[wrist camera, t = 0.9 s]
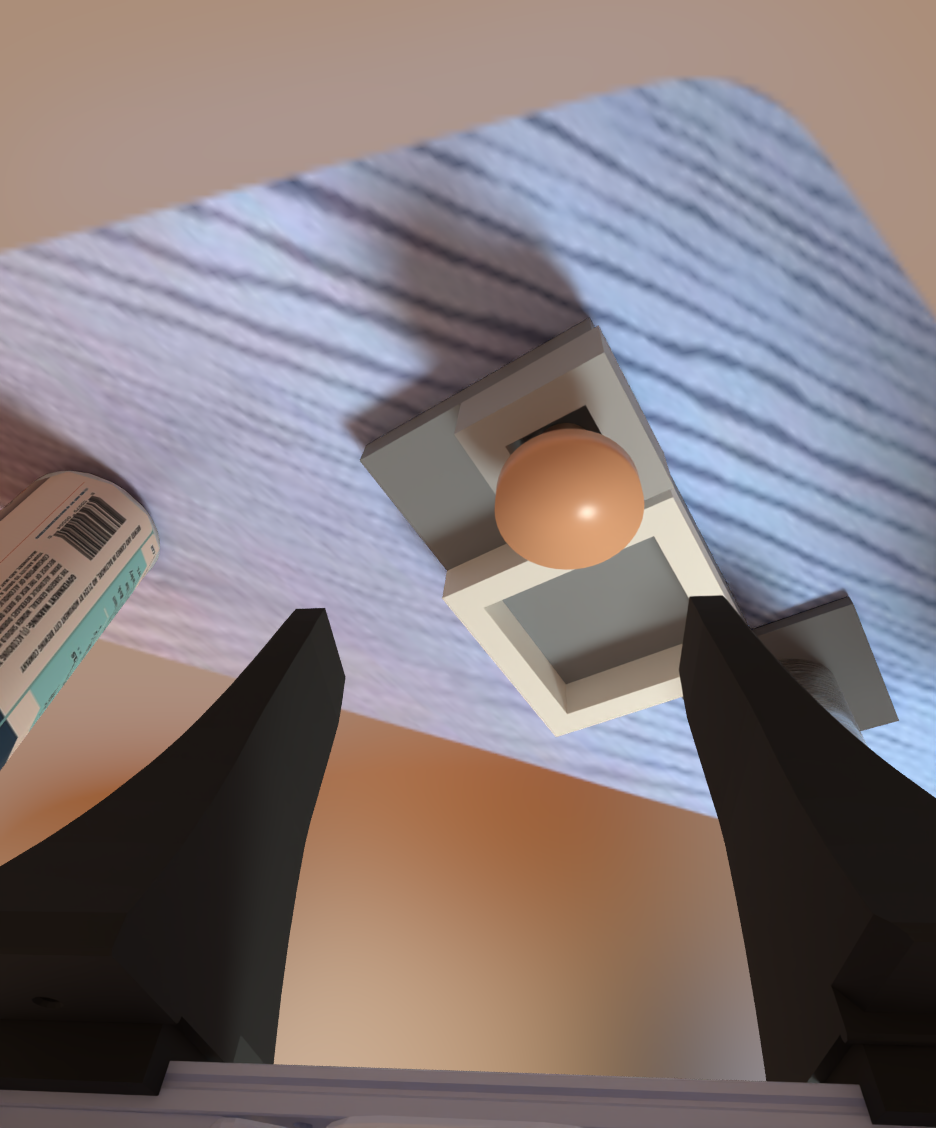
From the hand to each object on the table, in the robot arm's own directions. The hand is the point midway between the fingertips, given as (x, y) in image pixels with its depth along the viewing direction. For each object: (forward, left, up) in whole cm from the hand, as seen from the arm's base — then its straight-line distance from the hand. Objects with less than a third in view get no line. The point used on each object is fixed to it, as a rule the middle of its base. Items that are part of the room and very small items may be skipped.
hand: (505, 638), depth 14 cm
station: (-5, +1, -10) cm, 11 cm away
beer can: (+4, +15, -10) cm, 19 cm away
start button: (0, -1, -7) cm, 7 cm away
